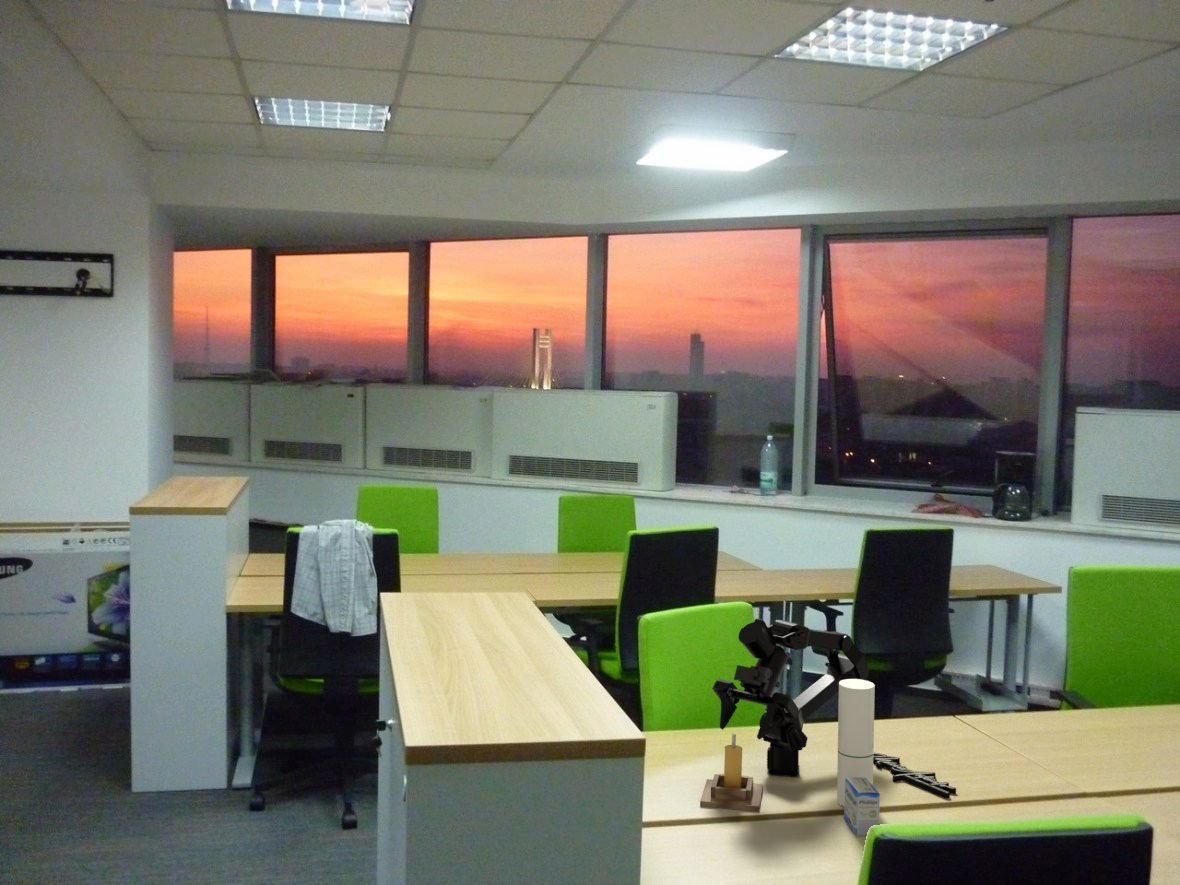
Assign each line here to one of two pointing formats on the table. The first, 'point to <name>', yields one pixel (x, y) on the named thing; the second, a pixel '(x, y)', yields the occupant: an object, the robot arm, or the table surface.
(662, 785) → the table surface
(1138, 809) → the table surface
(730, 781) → the yellow cylindrical piece
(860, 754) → the cylindrical container
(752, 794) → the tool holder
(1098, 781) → the table surface
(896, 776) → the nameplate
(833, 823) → the table surface
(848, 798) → the medicine box
